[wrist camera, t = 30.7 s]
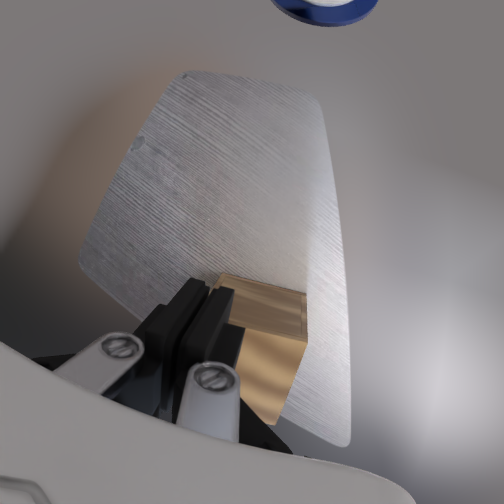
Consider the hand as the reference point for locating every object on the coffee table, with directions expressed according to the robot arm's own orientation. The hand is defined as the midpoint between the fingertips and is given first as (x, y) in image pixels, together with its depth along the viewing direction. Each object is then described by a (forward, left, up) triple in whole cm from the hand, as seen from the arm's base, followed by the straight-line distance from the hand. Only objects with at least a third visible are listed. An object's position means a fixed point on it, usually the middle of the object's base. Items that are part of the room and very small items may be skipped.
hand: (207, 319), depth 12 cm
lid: (+6, +18, -21) cm, 28 cm away
